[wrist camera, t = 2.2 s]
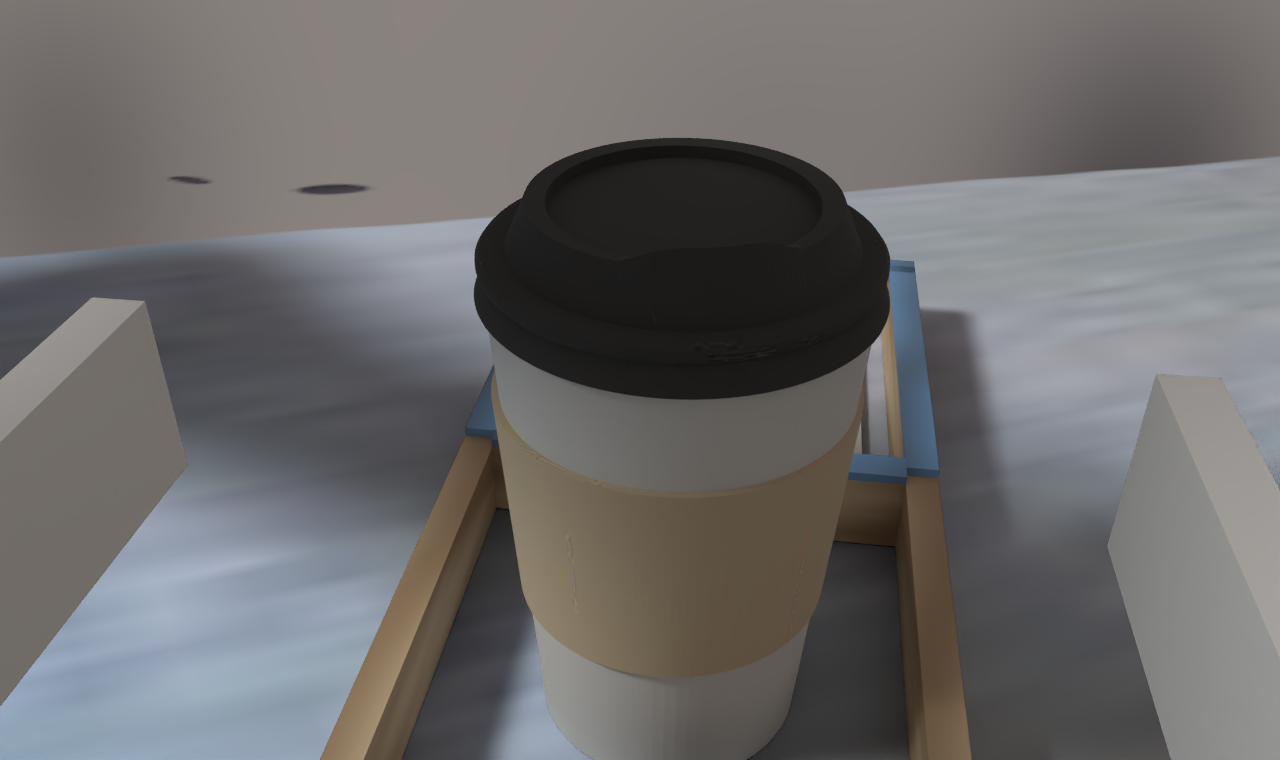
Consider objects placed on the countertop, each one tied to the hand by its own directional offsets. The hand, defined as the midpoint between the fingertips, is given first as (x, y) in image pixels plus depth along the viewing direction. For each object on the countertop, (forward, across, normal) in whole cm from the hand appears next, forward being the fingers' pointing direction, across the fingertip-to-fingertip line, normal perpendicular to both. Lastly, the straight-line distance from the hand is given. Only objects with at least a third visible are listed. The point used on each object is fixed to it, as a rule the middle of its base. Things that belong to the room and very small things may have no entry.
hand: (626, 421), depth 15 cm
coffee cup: (+10, 0, -16) cm, 19 cm away
